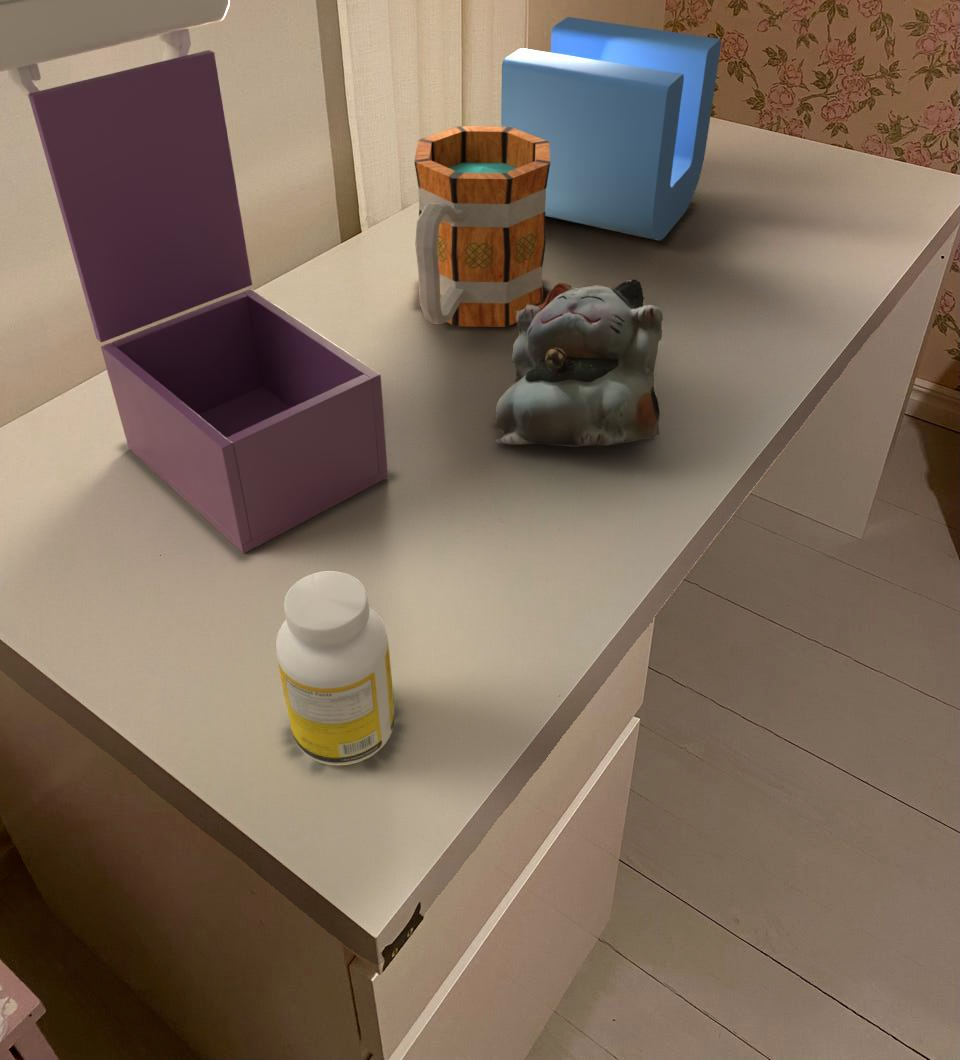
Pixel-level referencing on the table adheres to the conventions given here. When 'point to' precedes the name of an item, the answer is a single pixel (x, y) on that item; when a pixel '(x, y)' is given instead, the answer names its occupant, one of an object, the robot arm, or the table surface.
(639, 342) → the lucky cat figurine
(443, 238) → the wooden beer tankard
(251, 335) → the box
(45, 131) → the lid
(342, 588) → the pill bottle
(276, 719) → the table surface
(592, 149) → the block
